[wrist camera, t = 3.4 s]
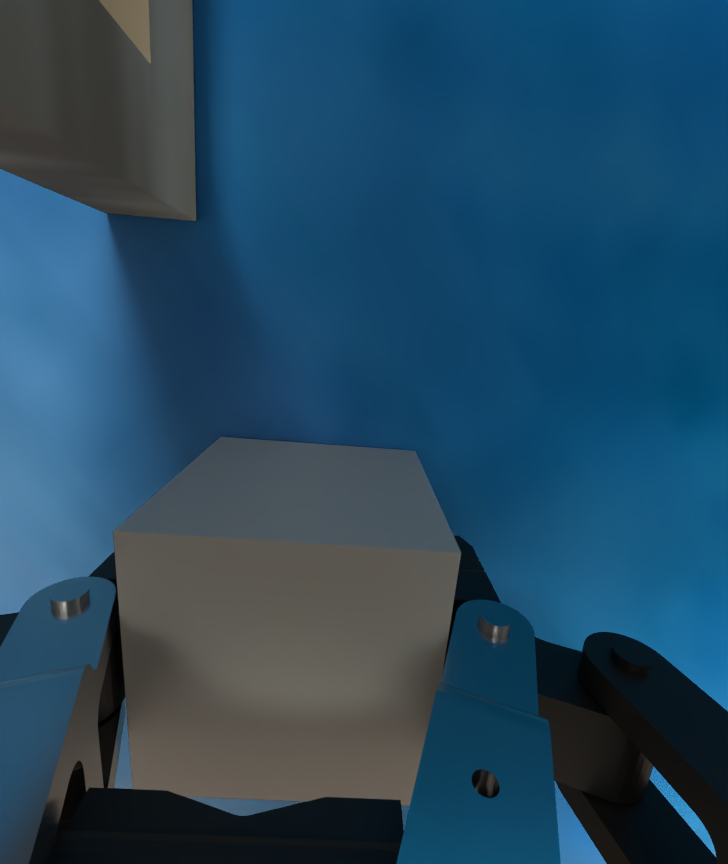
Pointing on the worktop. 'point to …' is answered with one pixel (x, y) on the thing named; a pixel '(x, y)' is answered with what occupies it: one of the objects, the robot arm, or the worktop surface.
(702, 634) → the worktop surface
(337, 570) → the cube
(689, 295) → the worktop surface
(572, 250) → the worktop surface
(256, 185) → the worktop surface
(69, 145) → the frame
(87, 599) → the robot arm
